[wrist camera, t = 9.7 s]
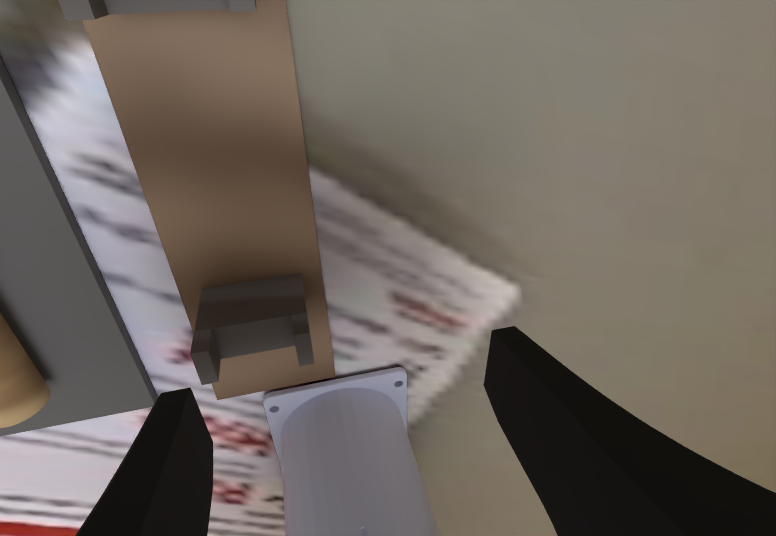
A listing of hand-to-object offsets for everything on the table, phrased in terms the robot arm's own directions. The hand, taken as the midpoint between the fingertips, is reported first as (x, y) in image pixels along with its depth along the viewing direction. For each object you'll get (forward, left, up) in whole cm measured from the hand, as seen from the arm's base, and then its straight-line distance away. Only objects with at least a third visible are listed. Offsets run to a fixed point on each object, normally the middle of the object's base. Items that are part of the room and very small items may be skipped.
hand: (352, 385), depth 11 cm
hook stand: (+2, +3, -10) cm, 11 cm away
